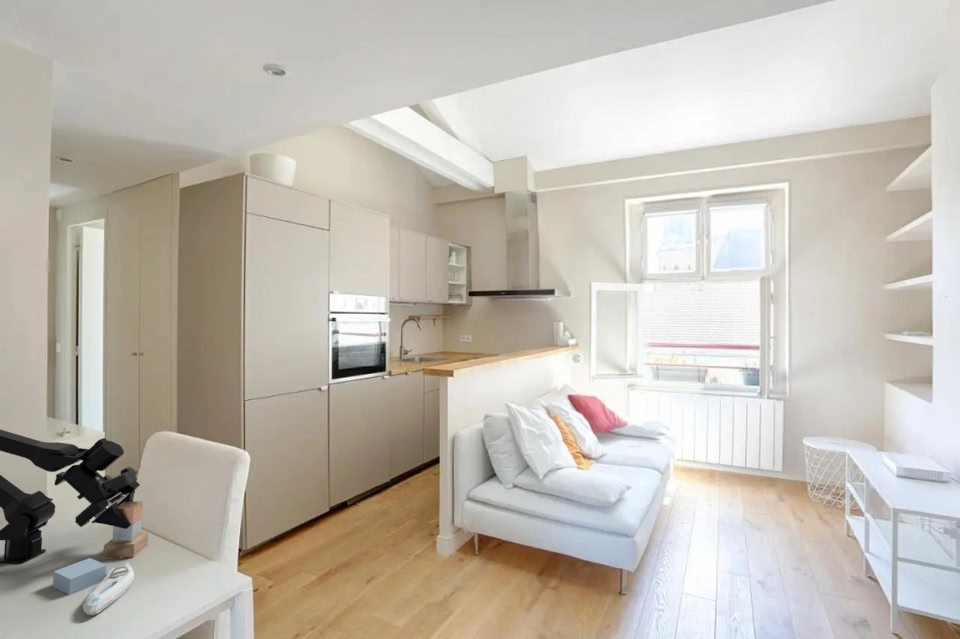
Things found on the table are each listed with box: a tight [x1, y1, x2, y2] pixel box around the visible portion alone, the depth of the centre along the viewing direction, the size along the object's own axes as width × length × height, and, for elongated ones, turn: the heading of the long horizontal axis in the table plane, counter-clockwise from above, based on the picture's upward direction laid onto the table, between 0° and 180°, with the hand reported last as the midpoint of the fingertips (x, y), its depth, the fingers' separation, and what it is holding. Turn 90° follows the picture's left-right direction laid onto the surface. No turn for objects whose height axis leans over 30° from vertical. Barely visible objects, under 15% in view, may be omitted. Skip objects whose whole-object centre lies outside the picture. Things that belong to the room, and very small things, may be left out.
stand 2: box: [102, 531, 149, 559], centre depth 121 cm, size 7×7×4 cm
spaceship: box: [82, 561, 135, 616], centre depth 104 cm, size 23×7×4 cm, turn 23°
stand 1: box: [52, 557, 107, 596], centre depth 106 cm, size 7×7×4 cm
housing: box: [111, 500, 144, 543], centre depth 121 cm, size 4×4×9 cm
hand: (133, 523), depth 121 cm, fingers closed on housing, 4 cm apart
